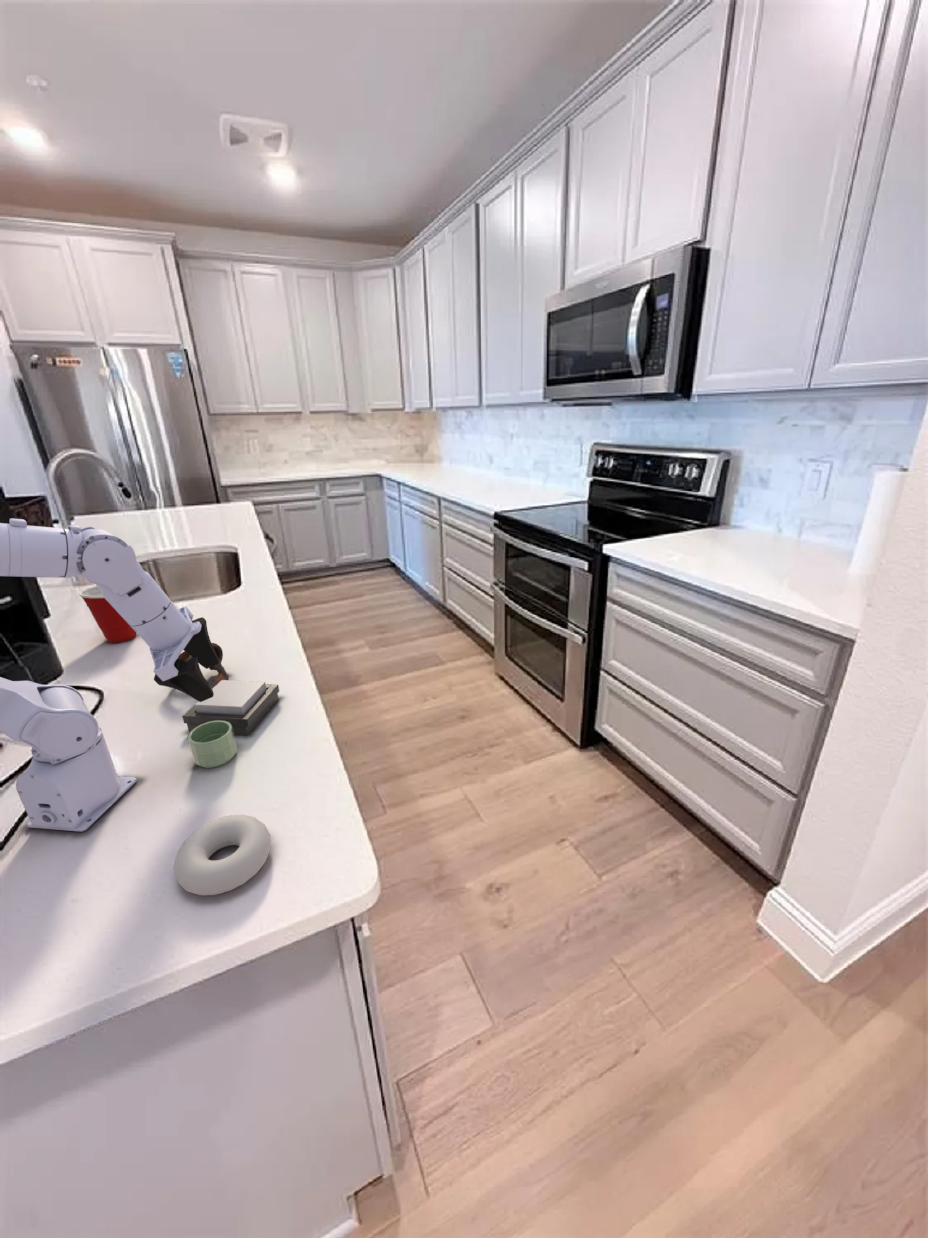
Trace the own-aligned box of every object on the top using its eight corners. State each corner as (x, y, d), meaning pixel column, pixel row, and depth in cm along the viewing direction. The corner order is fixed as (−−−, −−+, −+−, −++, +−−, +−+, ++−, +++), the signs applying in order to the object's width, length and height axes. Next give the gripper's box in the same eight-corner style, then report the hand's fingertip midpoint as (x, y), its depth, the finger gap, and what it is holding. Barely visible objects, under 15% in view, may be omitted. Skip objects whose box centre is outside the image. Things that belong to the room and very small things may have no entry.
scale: (250, 735, 80) (246, 719, 79) (186, 732, 81) (181, 716, 80) (281, 698, 90) (278, 684, 89) (223, 696, 92) (220, 681, 90)
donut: (280, 878, 56) (266, 818, 64) (275, 856, 54) (261, 797, 63) (178, 920, 52) (177, 849, 60) (170, 896, 50) (170, 827, 58)
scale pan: (243, 716, 81) (241, 707, 80) (196, 713, 82) (194, 704, 81) (267, 690, 88) (265, 681, 87) (223, 688, 89) (221, 679, 88)
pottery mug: (219, 699, 91) (184, 669, 87) (183, 714, 95) (148, 686, 90) (246, 654, 101) (215, 625, 97) (212, 669, 104) (182, 642, 100)
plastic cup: (160, 632, 118) (147, 583, 114) (113, 651, 110) (97, 599, 105) (131, 624, 123) (117, 577, 118) (84, 642, 114) (67, 592, 109)
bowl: (224, 771, 73) (217, 745, 71) (186, 768, 73) (179, 742, 71) (244, 746, 78) (239, 721, 76) (209, 743, 78) (203, 719, 77)
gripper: (168, 630, 61) (231, 702, 70) (187, 574, 73) (239, 642, 81) (112, 653, 61) (182, 723, 69) (140, 593, 72) (197, 659, 81)
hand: (210, 680), depth 75 cm, fingers open, 7 cm apart
